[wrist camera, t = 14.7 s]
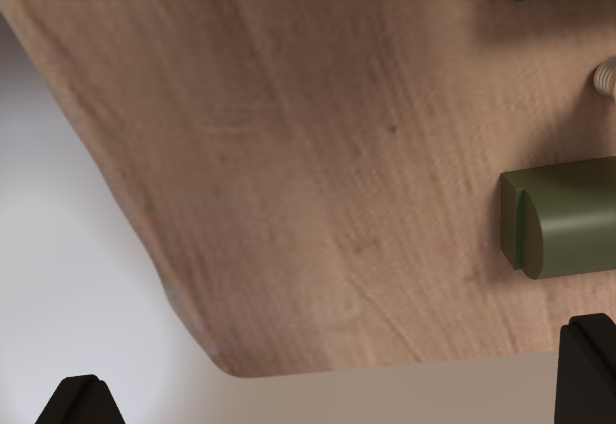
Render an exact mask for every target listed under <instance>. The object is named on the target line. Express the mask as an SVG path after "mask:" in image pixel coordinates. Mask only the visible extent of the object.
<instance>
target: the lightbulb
mask: <svg viewBox="0 0 616 424" xmlns="http://www.w3.org/2000/svg"><path fill="white" fill-rule="evenodd" d="M594 86H595V88H596V90H597V91H598V92H599V93H600V94H602V95H604V96H606V97H608V98H610V99H612V100H614V101H615V102H616V55H615V56H612V57H610V58H608V59H606V60H605V61H604V62H603V63H602V64H601V65H600V66H599V67H598V69H597V70H596V73H595V76H594Z"/></svg>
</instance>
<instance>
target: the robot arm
mask: <svg viewBox="0 0 616 424" xmlns="http://www.w3.org/2000/svg"><path fill="white" fill-rule="evenodd" d="M35 424H125V422H124V419H123V417H122V415H121V413H120V411H119V409H118V407H117V405H116V403H115V401H114V399H113V397H112V395H111V393H110V390H109V388H108V386H107V384H106V383H105V382H104V381H102V380H99V379H98V377H97V376H95V375H93V374H91V375H82V376H74V377H66V378H65V379H63V380H62V381H61V383H60V384H59V386H58V387H57V389H56V390H55V392H54V393H53V395H52V397H51V398H50V400H49V401H48V403H47V405H46V407H45V408H44V410H43V411H42V413H41V414H40V416H39V418H38V419H37V421H36V423H35ZM554 424H616V325H615V323H614V322H613V321H612V320H611V319H610V317H608V316H607V315H606V314H604V313H597V314H589V315H580V316H573V317H571V318H570V320H569V325H563V326H562V327H561V331H560V345H559V359H558V375H557V387H556V401H555V415H554Z"/></svg>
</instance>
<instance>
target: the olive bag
mask: <svg viewBox="0 0 616 424" xmlns="http://www.w3.org/2000/svg"><path fill="white" fill-rule="evenodd" d="M501 250H502V251H503V253H504V254H505V256H506V258H507V259H508V261H509V262H510V264H511V265H512V267H513V268H514V270H517V269H522V270H523V272H524V273H525V274H526V276H527V277H529V278H530V279H534V280H535V279H543V278H551V277H559V276H567V275H575V274H582V273H590V272H598V271H606V270H614V269H616V156H613V157H606V158H599V159H592V160H586V161H579V162H572V163H565V164H559V165H552V166H545V167H538V168H532V169H525V170H518V171H512V172H505V173H501Z"/></svg>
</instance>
